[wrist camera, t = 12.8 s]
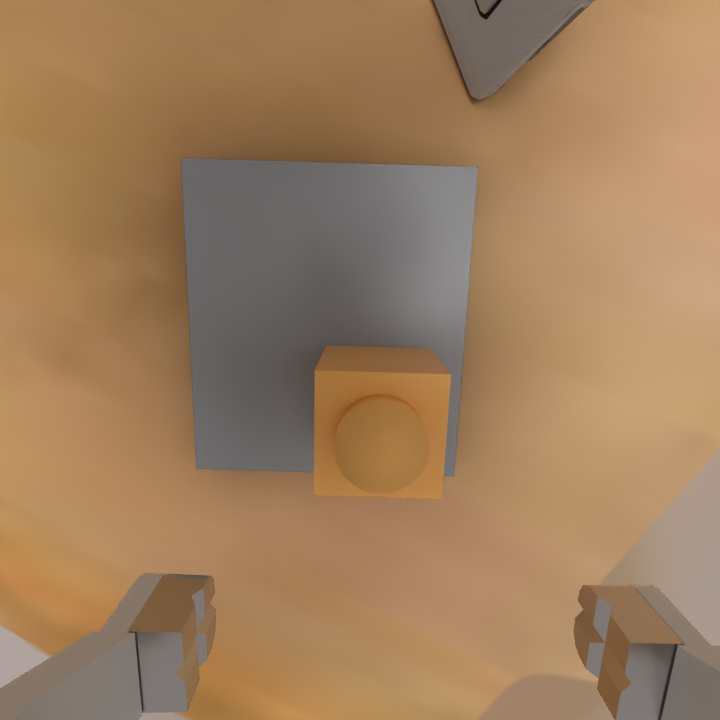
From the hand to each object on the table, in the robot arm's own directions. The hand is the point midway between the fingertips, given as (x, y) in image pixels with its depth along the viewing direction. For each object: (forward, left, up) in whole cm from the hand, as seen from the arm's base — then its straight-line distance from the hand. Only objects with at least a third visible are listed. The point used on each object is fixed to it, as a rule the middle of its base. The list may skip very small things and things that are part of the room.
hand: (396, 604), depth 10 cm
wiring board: (-4, -3, -18) cm, 19 cm away
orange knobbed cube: (0, 0, -17) cm, 17 cm away
